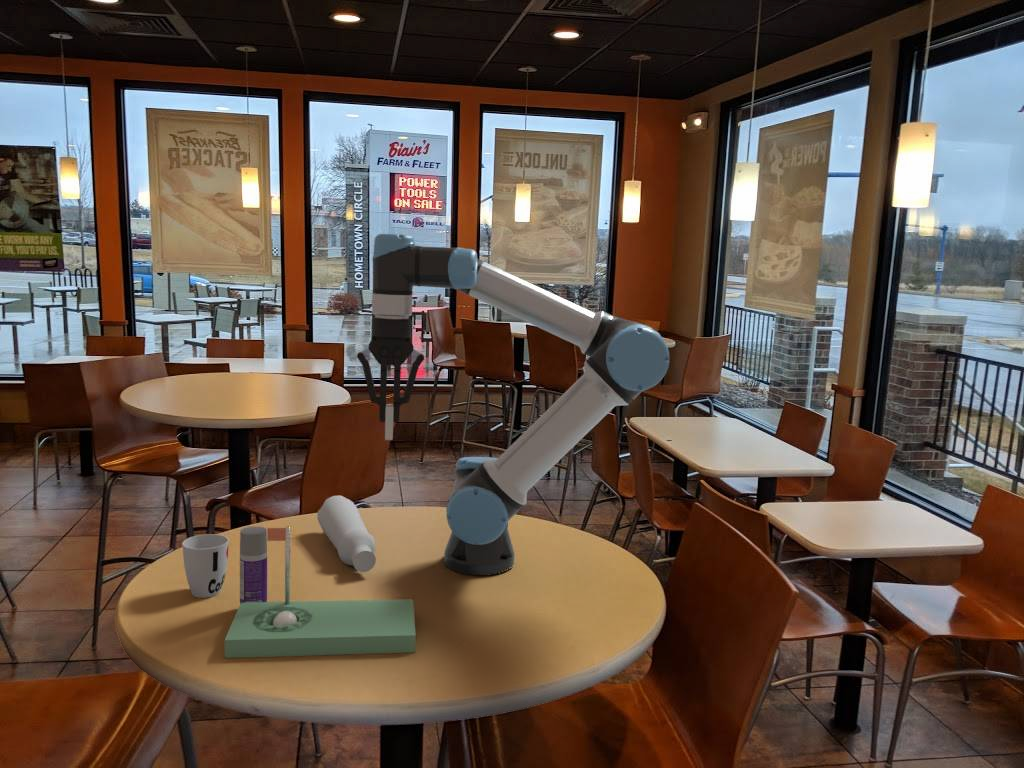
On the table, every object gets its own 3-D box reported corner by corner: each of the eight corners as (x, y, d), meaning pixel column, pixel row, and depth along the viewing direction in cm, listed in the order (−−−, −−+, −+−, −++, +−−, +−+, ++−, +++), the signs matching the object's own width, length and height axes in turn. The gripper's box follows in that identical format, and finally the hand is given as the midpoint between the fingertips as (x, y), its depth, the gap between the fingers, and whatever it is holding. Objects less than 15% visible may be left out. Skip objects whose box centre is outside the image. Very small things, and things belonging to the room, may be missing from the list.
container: (272, 607, 144) (272, 528, 142) (256, 617, 140) (256, 536, 137) (250, 602, 146) (250, 524, 143) (234, 612, 141) (233, 532, 139)
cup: (213, 603, 144) (213, 551, 143) (173, 597, 146) (172, 546, 145) (237, 586, 152) (237, 536, 151) (199, 581, 154) (198, 532, 152)
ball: (297, 615, 137) (273, 613, 136) (300, 609, 134) (275, 607, 133) (294, 638, 135) (270, 637, 134) (296, 633, 132) (272, 632, 131)
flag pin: (289, 602, 140) (290, 526, 137) (289, 604, 139) (289, 527, 137) (267, 602, 139) (267, 526, 137) (266, 604, 138) (267, 528, 136)
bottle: (308, 519, 183) (332, 570, 156) (330, 486, 184) (359, 532, 157) (340, 536, 187) (369, 590, 160) (362, 504, 188) (395, 552, 161)
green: (412, 614, 144) (413, 599, 143) (415, 652, 130) (415, 635, 130) (240, 618, 139) (240, 602, 139) (224, 657, 125) (224, 640, 125)
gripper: (425, 316, 154) (421, 434, 158) (357, 314, 152) (355, 433, 156) (427, 319, 147) (423, 443, 151) (356, 316, 145) (353, 442, 149)
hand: (388, 438), depth 153 cm, fingers closed
